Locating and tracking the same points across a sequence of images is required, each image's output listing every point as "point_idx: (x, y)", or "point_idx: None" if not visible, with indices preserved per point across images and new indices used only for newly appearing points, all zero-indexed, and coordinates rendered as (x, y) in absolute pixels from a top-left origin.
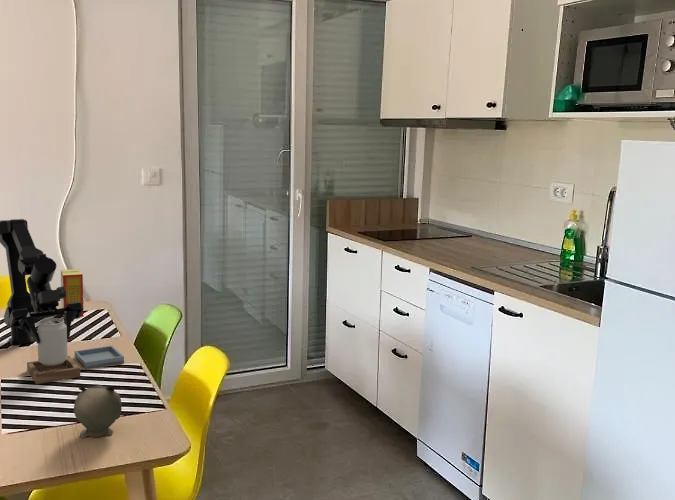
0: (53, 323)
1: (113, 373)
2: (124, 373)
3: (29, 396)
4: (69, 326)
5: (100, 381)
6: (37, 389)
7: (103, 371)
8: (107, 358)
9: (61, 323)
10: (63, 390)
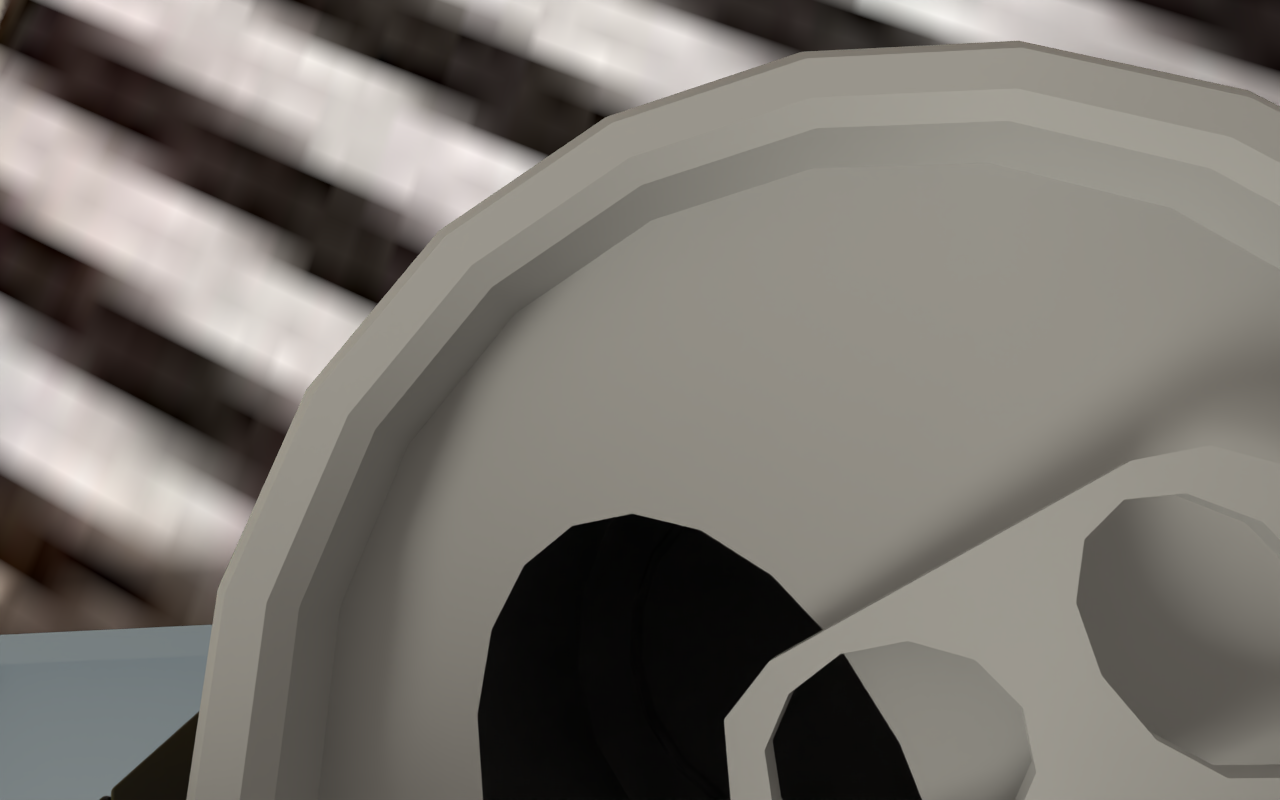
0: (842, 598)
1: (187, 341)
2: (96, 296)
3: (1139, 19)
4: (174, 765)
5: (377, 166)
6: None
7: (254, 449)
8: (72, 654)
9: (466, 215)
10: (775, 60)
